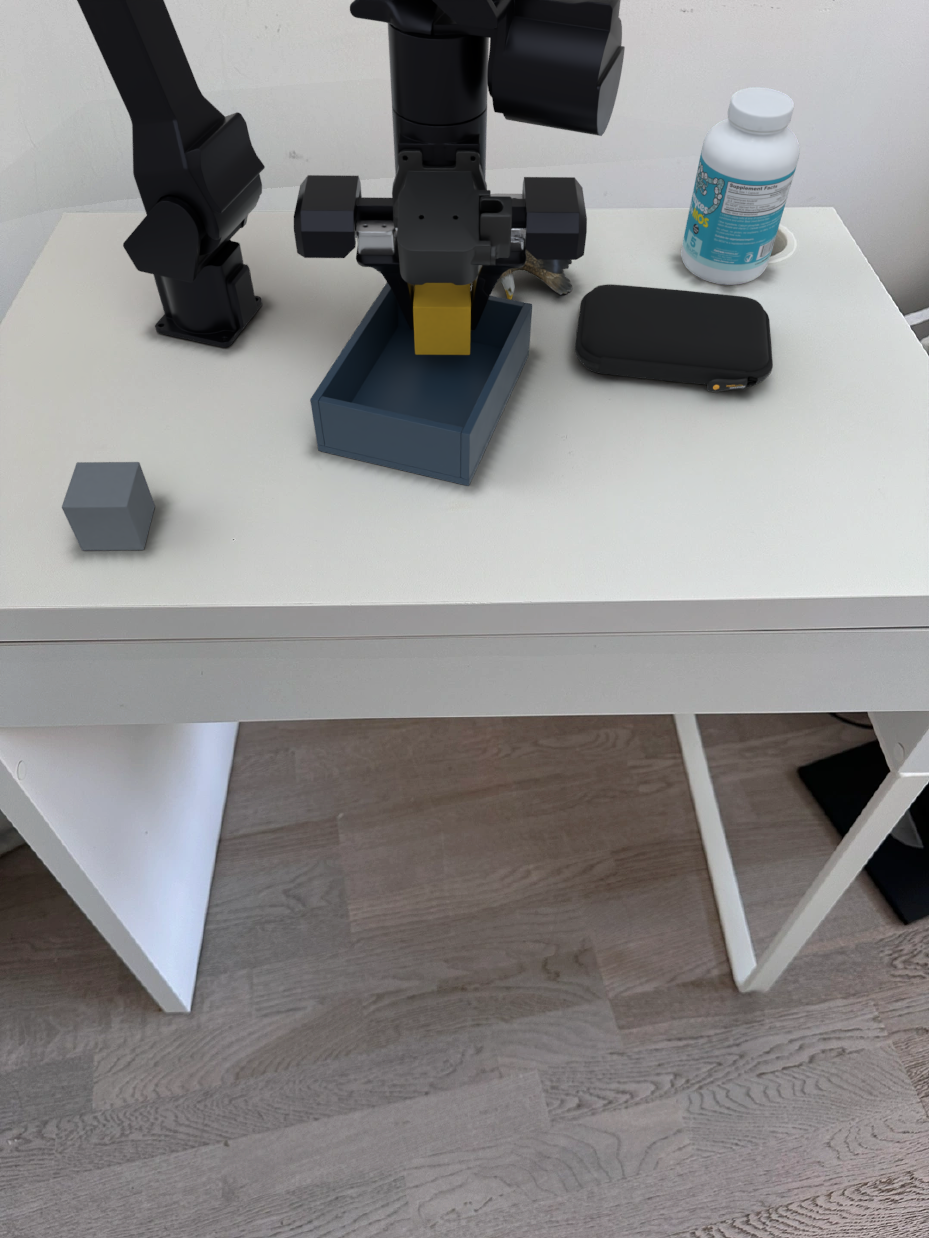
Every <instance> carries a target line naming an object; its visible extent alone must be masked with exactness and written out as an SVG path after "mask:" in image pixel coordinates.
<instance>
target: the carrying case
mask: <svg viewBox="0 0 929 1238" xmlns="http://www.w3.org/2000/svg"><path fill="white" fill-rule="evenodd" d="M575 334H576V335H575V343H574V354H575V356H576V358H577V359H578V361H579V362H580V363H581V364H582V365H583V366H584V367H585V368H586V369H587V370H588V371H591V372H594V373H598V374H600V375H611V376H620V377H628V378H637V379H647V380H656V381H663V382H664V381H665V382H676V383H684V384H685V383H686V384H695V385H705V386H706V389H707V391H708V392H712V393H717V392H723V391H724V392H725V391H731V390H745V389H746V388H750V387H753V386H755V385H757V384H760V383H762V382H763V381H765V380H766V379H767V378H768V377H769V376H770V374H771V373H772V371H773V368H774V361H773V350H772V349H773V348H772V335H771V324H770V317H769V314H768V312H767V311H766V310H765V309H764V307H763V305H762V304H761V303H760V302H759V301H758V300H757V299H754V298H752V297H748V296H747V297H746V296H741V295H734V294H733V295H732V294H722V293H712V292H703V291H702V292H701V291H694V290H693V291H692V290H682V289H671V288H670V289H669V288H661V287H647V286H637V285H636V286H635V285H625V284H612V283H611V284H610V283H607V284H600V285H597V286H595V287H594V288H593V289H591V290H590V291H588V292H587V293H585V295H584V296H583V297H582V299H581V300H580V305H579V312H578V319H577V327H576V333H575Z"/></svg>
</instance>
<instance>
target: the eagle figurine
mask: <svg viewBox="0 0 929 1238" xmlns="http://www.w3.org/2000/svg"><path fill="white" fill-rule="evenodd" d="M572 264H573V260H537V259H536V258H535V257H534V256H532V255H531V254H530V253H529V252H528V251H527V250H526V263H525V265H524V266H523V267H521V268H511V269H509V270H507V271H506V272H504V273H503V274H502V275H501V277H500V278H499V281H500V283H501V284H502V286H503V289H504V292H505V294H506V299H511V300H513V296H514V294H515V280H514V272H518V271H522V272H526V273H528V274H529V275H532V276H534V277H535V278H537V279H539V280H540V281H542V282H543V283H544V284H545V285H547V286H548V287H549V288H550V289H551V290H552V291H554V292H555V293H556V294H557V295H559V296H562V295H563V294H564V295H567V294H568V293H571V292H572V291H573V288H574V285H573V284H572V283H571V282H572V281H571V279H570V278H568V277H567V276H566V274H565V273H564V270H568V269H569V267H570V265H572Z"/></svg>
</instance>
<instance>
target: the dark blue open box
mask: <svg viewBox="0 0 929 1238" xmlns="http://www.w3.org/2000/svg"><path fill="white" fill-rule="evenodd" d="M532 316H533V303H532V302H531V303H530V302H525V301H519V300H515V299H512V300H511V299H507V298H505V297H500V296H495V295H490V297H489V299H488V301H487V304H486V306H485V308H484V311H483V313H482V315H481V318H480V320H479V323H478V325H477V327H476V330H475V331H470V355H416V354H415V341H414V330H410V328H409V326H408V324H407V322H406V319H405V317H404V315H403V313H402V311H401V309H400V306H399V304H398V302H397V300H396V298H395V296H394V293H393V291H392V289H391V288H390V286H389V284H388V283H387V282H386V283H385V284H384V286H383V287H382V289H381V290H380V292H379V294H378V295H377V297H376V298H375V300H374V301H373V303H371V306H370V307H369V309H368V310H367V312H366V313H365V314H364V317H363V318H362V319H361V321H360V323H359V324H358V325H357V327H356V328H355V330H354V331H353V333H352V335H351V336H350V338H349V339H348V341H347V342H346V344H345V345H344V347H343V348H342V350H341V351H340V353H339V355H338V356H337V358H335V360H334V362H333V364H332V365H331V367H330V368H329V370H328V371H327V373H326V374H325V376H324V377H323V379H322V380H321V382H320V383H319V385H318V386H317V388H316V389H315V391H314V393H313V394H312V396H311V397H310V399H309V400H310V401H309V402H310V409H311V415H312V420H313V427H314V432H315V434H314V435H315V440H316V445H317V450H318V452H323V453H327V454H331V455H336V456H339V457H344V458H348V459H353V460H357V461H360V462H364V463H369V464H374V465H378V466H383V467H387V468H391V469H395V470H399V471H404V472H408V473H411V474H416V475H421V476H424V477H428V478H433V479H437V480H441V481H446V482H451V483H455V484H459V485H463V486H467V487H469V486H470V485H471V482H472V480H473V478H474V476H475V473H476V472H477V469H478V467H479V465H480V463H481V460H482V459H483V456H484V454H485V452H486V449H487V447H488V445H489V444H490V441H491V439H492V437H493V435H494V432H495V430H496V428H497V425H498V424H499V421H500V419H501V418H502V415H503V412H504V410H505V408H506V406H507V404H508V401H509V399H510V397H511V395H512V393H513V391H514V388H515V386H516V384H517V382H518V380H519V378H520V375H521V373H522V371H523V369H524V366H525V365H526V362H527V360H528V358H529V355H530V346H531V345H530V343H531V333H532V332H531V331H532Z"/></svg>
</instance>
